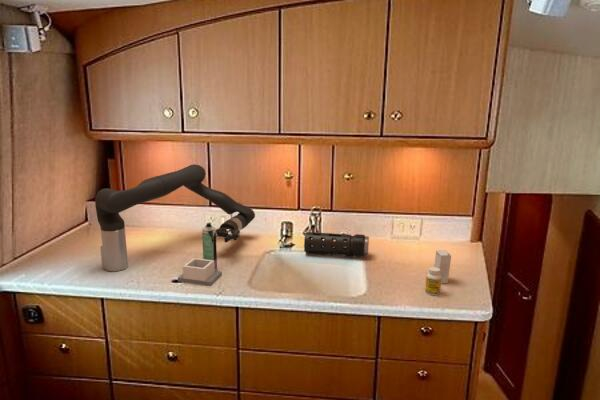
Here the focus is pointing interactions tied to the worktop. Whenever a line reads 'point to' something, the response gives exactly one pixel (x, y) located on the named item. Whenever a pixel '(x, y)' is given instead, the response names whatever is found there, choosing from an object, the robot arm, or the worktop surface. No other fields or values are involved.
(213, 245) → the spray can
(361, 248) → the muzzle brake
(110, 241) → the robot arm
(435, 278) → the supplement bottle
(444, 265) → the skincare box
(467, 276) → the worktop surface
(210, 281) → the socket board
